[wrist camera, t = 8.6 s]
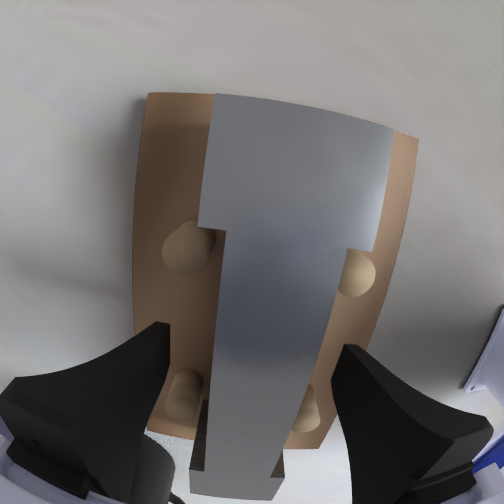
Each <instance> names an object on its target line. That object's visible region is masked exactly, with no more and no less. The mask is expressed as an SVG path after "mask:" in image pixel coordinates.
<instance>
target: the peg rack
mask: <svg viewBox="0 0 504 504" xmlns="http://www.w3.org/2000/svg"><path fill="white" fill-rule="evenodd" d="M214 98H215V95H212V94H196V93H159V92H157V93H148V96H147V102H146V108H145V114H144V120H143V126H142V133H141V140H140V148H139V156H138V166H137V176H136V187H135V200H134V218H133V247H132V283H133V312H134V329H135V335H137V334H138V333H140V332H141V331H143V330H144V329H145V328H147V327H148V326H150V325H151V324H153V323H154V322H156V321H158V322H164V323H169V324H170V366H169V370H168V373H167V377H166V380H165V383H164V385H163V388H162V390H161V392H160V395H159V397H158V399H157V402H156V404H155V406H154V408H153V411H152V413H151V415H150V418H149V420H148V423H147V425H146V426H147V430H148V431H152V432H156V433H160V434H165V435H170V436H174V437H179V438H185V439H190V440H195V436H196V431H197V425H198V420H199V415H200V410H201V405H202V400H203V399H205V400H209V397H210V384H211V373H212V361H213V350H214V340H215V330H216V320H217V310H218V300H219V291H220V282H221V273H222V264H223V256H224V247H225V239H226V230H219V229H211V228H204V227H197V226H198V216H199V207H200V198H201V189H202V181H203V173H204V165H205V158H206V150H207V143H208V136H209V130H210V123H211V117H212V111H213V104H214ZM418 141H419V139H417V138H414V137H411V136H409V135H406V134H403V133H400V132H397V131H394V136H393V144H392V152H391V159H390V166H389V172H388V178H387V184H386V190H385V196H384V201H383V206H382V211H381V216H380V221H379V225H378V230H377V234H376V239H375V243H374V247H373V251H372V252H368V251H362V250H356V249H349V248H348V250H347V254H346V258H345V262H344V267H343V271H342V275H341V279H340V282H339V286H338V290H337V294H336V298H335V301H334V305H333V308H332V312H331V315H330V319H329V322H328V326H327V329H326V332H325V335H324V339H323V342H322V345H321V348H320V351H319V354H318V357H317V360H316V363H315V366H314V369H313V372H312V375H311V378H310V381H309V384H308V387H307V389H306V392H305V395H304V398H303V400H302V403H301V406H300V408H299V411H298V413H297V416H296V418H295V421H294V423H293V426H292V428H291V431H290V433H289V436H288V438H287V441H286V443H285V445H284V448H283V449H319V447H320V445H321V443H322V442H323V440H324V438H325V436H326V434H327V432H328V431H329V429H330V427H331V425H332V423H333V421H334V419H335V417H336V415H337V410H336V407H335V403H334V400H333V394H332V388H331V377H332V374H333V372H334V369H335V367H336V364H337V361H338V359H339V356H340V353H341V351H342V348H343V345H344V344H357V345H358V346H360V347H361V348H362V349H364V350H365V351H366V349H367V346H368V343H369V341H370V338H371V336H372V333H373V330H374V327H375V325H376V322H377V319H378V316H379V313H380V310H381V307H382V304H383V301H384V298H385V295H386V292H387V289H388V286H389V282H390V279H391V276H392V272H393V269H394V265H395V261H396V258H397V254H398V250H399V246H400V242H401V238H402V234H403V229H404V225H405V220H406V216H407V211H408V206H409V201H410V195H411V190H412V184H413V178H414V172H415V165H416V158H417V150H418Z"/></svg>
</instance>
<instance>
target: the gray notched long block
mask: <svg viewBox="0 0 504 504" xmlns="http://www.w3.org/2000/svg"><path fill="white" fill-rule="evenodd" d="M393 136H394V129H391V128H388V127H385V126H382V125H379V124H376V123H372V122H369V121H365V120H362V119H358V118H355V117H351V116H347V115H343V114H339V113H335V112H331V111H326V110H322V109H318V108H313V107H308V106H303V105H298V104H292V103H287V102H281V101H275V100H268V99H261V98H254V97H246V96H237V95H227V94H215V98H214V104H213V111H212V117H211V123H210V130H209V136H208V143H207V150H206V158H205V165H204V173H203V181H202V189H201V198H200V207H199V216H198V226H197V227H204V228H211V229H219V230H226V239H225V247H224V256H223V264H222V273H221V282H220V291H219V300H218V310H217V320H216V330H215V340H214V350H213V361H212V373H211V384H210V397H209V400H205V399H203V400H202V405H201V410H200V415H199V420H198V425H197V431H196V436H195V441H194V446H193V451H192V457H191V462H190V467H189V478H190V493H193V494H199V495H206V496H213V497H222V498H232V499H245V500H272V499H273V497H274V496H275V494H276V492H277V491H278V489H279V487H280V485H281V484H282V482H283V480H284V478H285V474H284V462H283V448H284V445H285V443H286V441H287V438H288V436H289V433H290V431H291V428H292V426H293V423H294V421H295V418H296V416H297V413H298V411H299V408H300V406H301V403H302V400H303V398H304V395H305V392H306V389H307V387H308V384H309V381H310V378H311V375H312V372H313V369H314V366H315V363H316V360H317V357H318V354H319V351H320V348H321V345H322V342H323V339H324V335H325V332H326V329H327V326H328V322H329V319H330V315H331V312H332V308H333V305H334V301H335V298H336V294H337V290H338V286H339V282H340V279H341V275H342V271H343V267H344V262H345V258H346V254H347V250H348V248H349V249H356V250H362V251H368V252H372V251H373V247H374V243H375V239H376V234H377V230H378V225H379V221H380V216H381V211H382V206H383V201H384V196H385V190H386V184H387V178H388V172H389V166H390V159H391V152H392V144H393Z"/></svg>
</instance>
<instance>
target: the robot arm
mask: <svg viewBox="0 0 504 504" xmlns="http://www.w3.org/2000/svg"><path fill="white" fill-rule="evenodd" d="M169 366H170V324H169V323H164V322H158V321H156V322H154V323H153V324H151V325H150V326H148V327H147V328H145V329H144V330H143V331H141V332H140V333H138V334H137V335H135V336H134V337H132V338H131V339H129V340H128V341H126V342H125V343H123V344H122V345H120V346H118V347H116V348H115V349H113V350H111V351H110V352H108V353H106V354H104V355H102V356H100V357H98V358H95V359H93V360H91V361H89V362H86V363H83V364H81V365H78V366H75V367H72V368H69V369H65V370H62V371H57V372H53V373H48V374H43V375H35V376H25V377H15V378H14V379H13V380H12V382H11V383H10V384H9V385H8V386H7V387H6V388H5V390H4V391H3V392H2V393H1V394H0V416H1V417H2V419H3V421H4V422H5V424H6V425H7V427H8V429H9V430H10V432H11V433H12V435H13V436H14V438H15V439H14V440H13V442H12V443H10V442H9V441H8V440H7V439H6V438H4V437H3V436H2V435H0V504H129V498H130V492H131V486H132V481H133V476H134V471H135V466H136V462H137V458H138V454H139V450H140V446H141V442H142V438H143V435H144V431H145V428H146V425H147V423H148V420H149V418H150V415H151V413H152V411H153V408H154V406H155V404H156V402H157V399H158V397H159V395H160V392H161V390H162V388H163V385H164V383H165V380H166V377H167V373H168V370H169ZM331 388H332V394H333V400H334V403H335V407H336V410H337V413H338V417H339V420H340V423H341V426H342V430H343V433H344V436H345V440H346V444H347V449H348V456H349V462H350V471H351V482H352V504H504V477H503V475H502V473H501V472H500V470H499V468H498V466H497V465H496V463H493V464H491V465H489V466H487V467H485V468H483V469H481V470H479V471H478V472H476V473H475V474H474V475H473V474H472V472H471V470H472V469H473V468H474V464H473V462H472V460H473V459H474V458H475V457H476V456H477V455H478V453H479V452H480V451H481V450H482V449H483V448H484V447H485V446H486V444H487V443H488V442H489V440H490V439H491V437H492V435H493V431H494V429H493V427H492V425H491V424H490V423H489V421H488V420H487V418H486V417H485V416H481V415H477V414H472V413H468V412H464V411H461V410H458V409H455V408H452V407H449V406H447V405H444V404H442V403H440V402H438V401H436V400H434V399H431V398H429V397H428V396H426V395H424V394H422V393H420V392H419V391H417V390H415V389H414V388H412V387H411V386H409V385H408V384H406V383H405V382H403V381H402V380H401V379H399V378H398V377H397V376H395V375H394V374H393V373H391V372H390V371H389V370H388V369H386V368H385V367H384V366H383V365H382V364H380V363H379V362H378V361H377V360H376V359H374V358H373V357H372V356H371V355H370V354H368V353H367V352H366V351H365V350H364V349H362V348H361V347H360V346H358V345H357V344H344V345H343V348H342V351H341V353H340V356H339V359H338V361H337V364H336V367H335V369H334V372H333V374H332V377H331ZM485 388H488V389H489V391H490V392H491V393H492V394H493V396H494V397H495V398H496V399H497V401H498V402H499V403H500V404H501V406H502V407H503V408H504V308H503V310H502V312H501V314H500V317H499V319H498V321H497V324H496V326H495V328H494V331H493V333H492V335H491V337H490V339H489V341H488V343H487V345H486V347H485V349H484V351H483V353H482V355H481V357H480V359H479V361H478V363H477V365H476V367H475V368H474V370H473V372H472V374H471V376H470V377H469V379H468V381H467V382H466V384H465V386H464V388H463V391H464V392H465V393H469V392H473V391H477V390H481V389H485Z"/></svg>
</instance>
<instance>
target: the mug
mask: <svg viewBox="0 0 504 504" xmlns="http://www.w3.org/2000/svg"><path fill="white" fill-rule="evenodd" d="M174 473H175V464H174V461H173V459H172V457H171V455H170V454H169V453H168V452H167V451H166V450H165V449H164V448H163V447H162V446H160V445H159V444H158V443H156V442H155V441H153V440H152V439H150V438H149V437H147V436H145V435H143V438H142V442H141V446H140V450H139V454H138V458H137V462H136V466H135V471H134V476H133V481H132V486H131V492H130V498H129V504H168V502H171V503H173V504H185V503H184V502H183V501H182V500H181V499H180V498H179V497H178V496H176V495H174V494H172V492H170V491H171V487H172V482H173V478H174Z"/></svg>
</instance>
